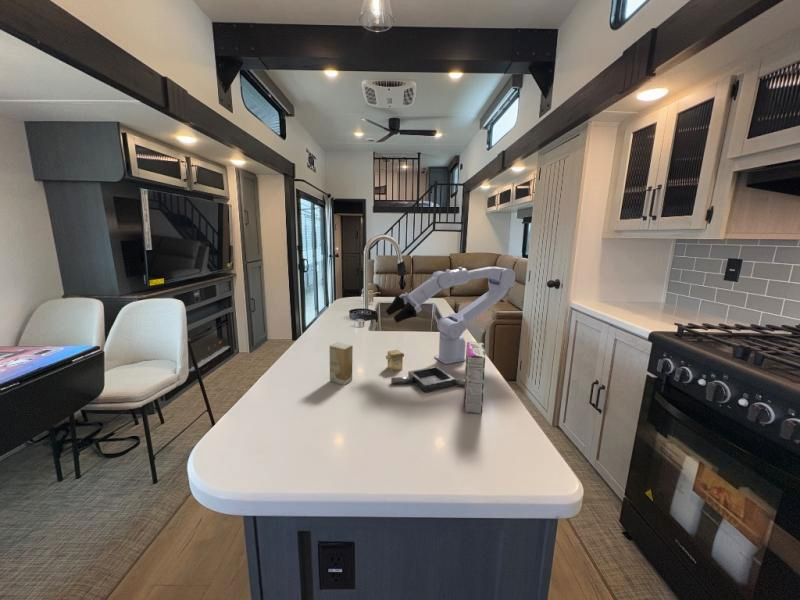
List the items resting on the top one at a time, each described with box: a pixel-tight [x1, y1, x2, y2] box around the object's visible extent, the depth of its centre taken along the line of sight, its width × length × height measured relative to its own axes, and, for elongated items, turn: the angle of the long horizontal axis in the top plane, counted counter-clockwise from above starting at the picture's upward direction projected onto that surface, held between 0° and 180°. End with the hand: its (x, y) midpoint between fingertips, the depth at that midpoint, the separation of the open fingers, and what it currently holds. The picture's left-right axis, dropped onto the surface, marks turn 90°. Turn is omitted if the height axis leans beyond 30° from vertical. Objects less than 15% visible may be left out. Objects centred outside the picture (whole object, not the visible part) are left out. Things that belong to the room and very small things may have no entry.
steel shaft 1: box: [390, 376, 414, 385], centre depth 102 cm, size 7×2×2 cm, turn 96°
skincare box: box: [329, 341, 354, 386], centre depth 102 cm, size 6×4×12 cm
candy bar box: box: [463, 341, 486, 415], centre depth 89 cm, size 11×5×16 cm, turn 168°
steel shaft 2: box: [454, 378, 465, 388], centre depth 100 cm, size 7×2×2 cm, turn 76°
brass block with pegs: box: [385, 349, 405, 372], centre depth 113 cm, size 6×4×6 cm, turn 116°
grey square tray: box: [407, 365, 457, 394], centre depth 103 cm, size 11×11×2 cm
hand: (391, 316), depth 111 cm, fingers open, 7 cm apart
